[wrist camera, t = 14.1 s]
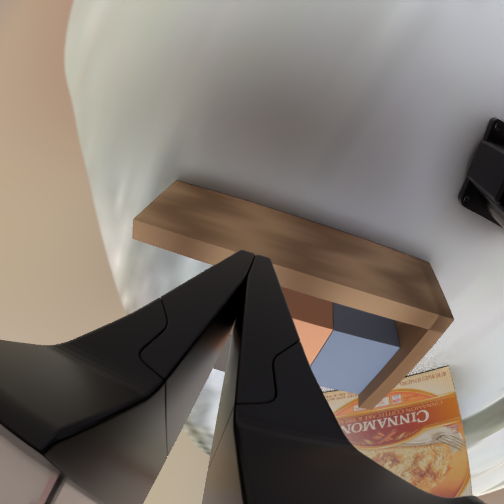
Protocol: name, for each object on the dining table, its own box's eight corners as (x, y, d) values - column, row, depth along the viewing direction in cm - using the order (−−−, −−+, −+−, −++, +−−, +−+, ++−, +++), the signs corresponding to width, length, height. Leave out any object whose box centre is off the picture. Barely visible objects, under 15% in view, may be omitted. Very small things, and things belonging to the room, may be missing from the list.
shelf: (429, 263, 20) (454, 319, 15) (367, 353, 26) (371, 409, 21) (176, 180, 21) (133, 219, 16) (163, 292, 26) (133, 342, 21)
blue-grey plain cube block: (389, 299, 23) (400, 347, 19) (356, 348, 26) (359, 394, 22) (332, 281, 23) (333, 330, 19) (304, 334, 26) (300, 381, 22)
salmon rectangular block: (331, 281, 23) (332, 329, 19) (304, 333, 26) (299, 381, 22) (267, 261, 23) (255, 307, 19) (247, 317, 26) (234, 363, 22)
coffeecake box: (449, 363, 25) (477, 548, 9) (445, 398, 28) (460, 552, 12) (309, 392, 31) (284, 571, 14) (324, 421, 34) (306, 571, 17)
